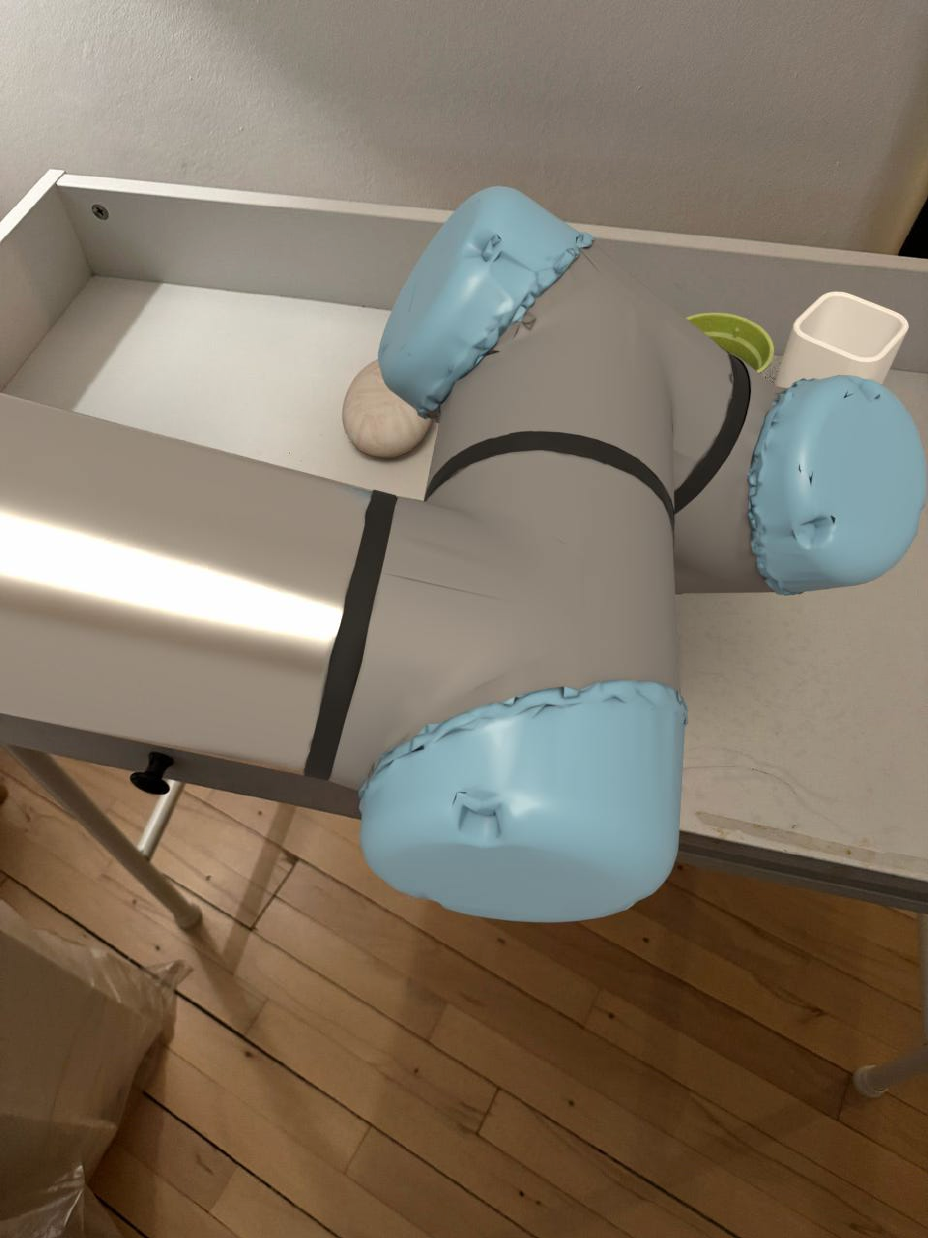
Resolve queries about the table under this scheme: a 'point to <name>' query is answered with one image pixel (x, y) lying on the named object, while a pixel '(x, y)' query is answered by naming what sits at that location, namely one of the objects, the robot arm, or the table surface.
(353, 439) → the decorative stone
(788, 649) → the table surface
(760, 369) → the plant pot
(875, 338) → the cup
